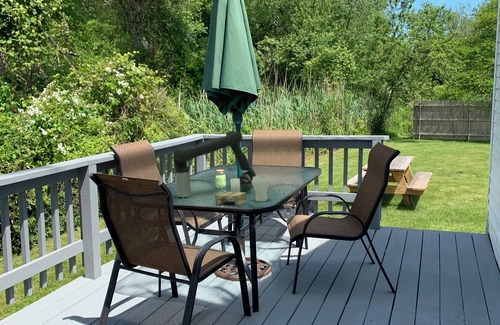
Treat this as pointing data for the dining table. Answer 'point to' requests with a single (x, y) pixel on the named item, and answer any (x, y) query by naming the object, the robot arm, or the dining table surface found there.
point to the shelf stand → (231, 197)
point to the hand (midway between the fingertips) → (238, 184)
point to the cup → (261, 187)
